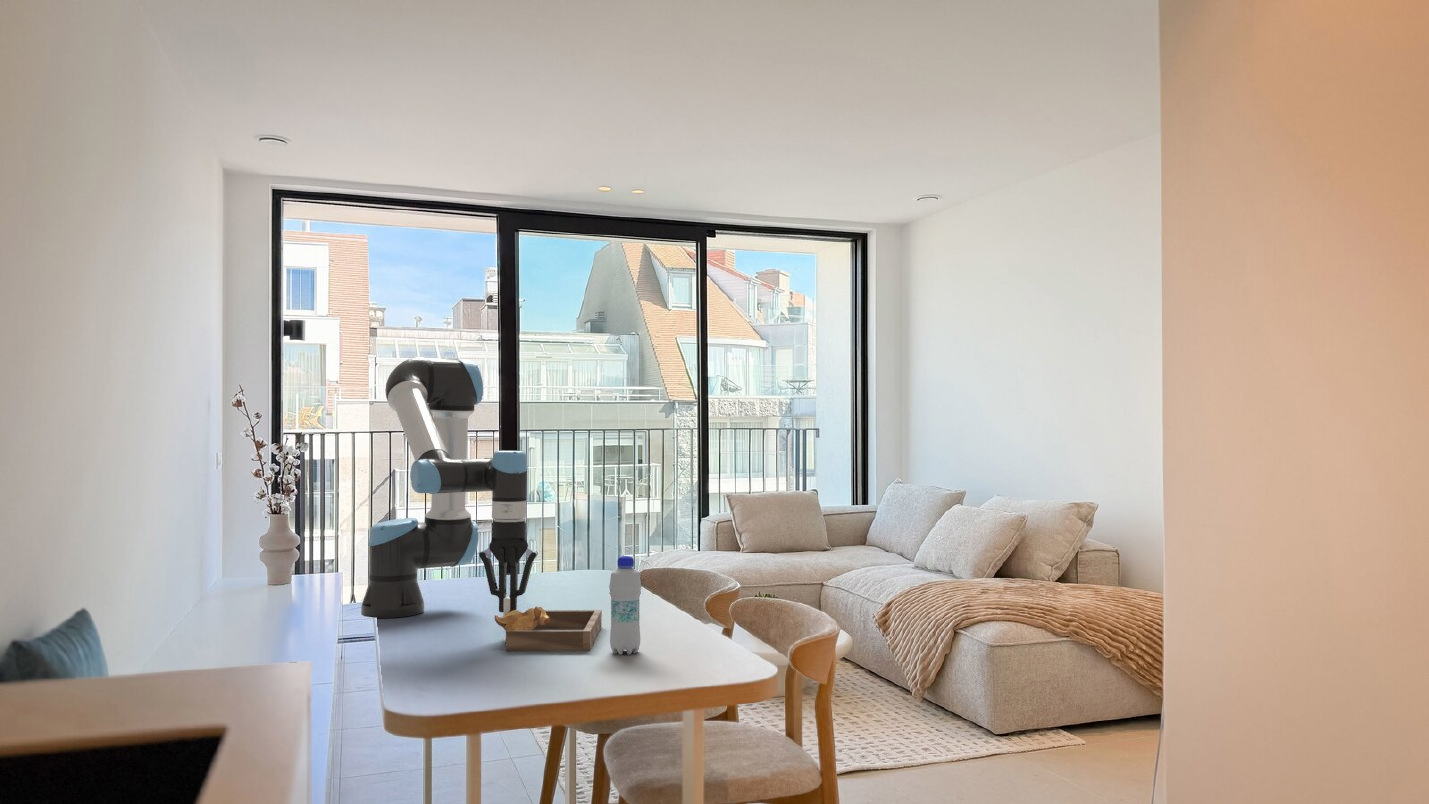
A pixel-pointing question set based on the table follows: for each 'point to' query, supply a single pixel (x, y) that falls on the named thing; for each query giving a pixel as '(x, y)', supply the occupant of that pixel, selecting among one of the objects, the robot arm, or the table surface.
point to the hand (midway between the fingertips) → (507, 627)
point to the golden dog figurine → (522, 619)
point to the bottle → (625, 607)
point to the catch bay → (558, 632)
